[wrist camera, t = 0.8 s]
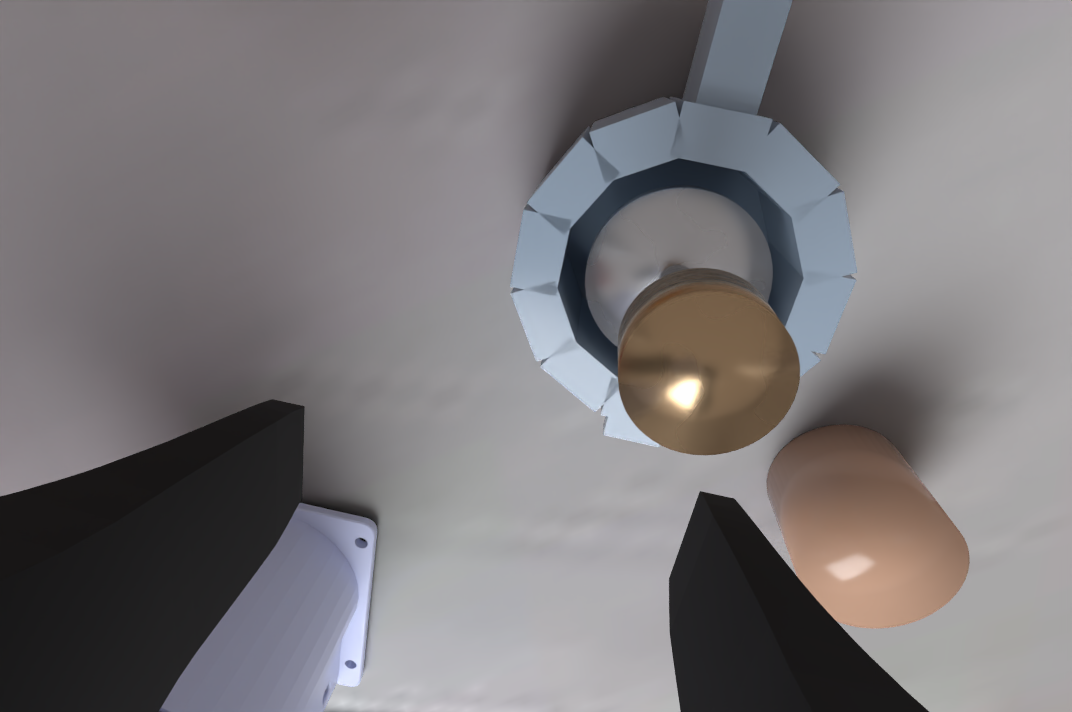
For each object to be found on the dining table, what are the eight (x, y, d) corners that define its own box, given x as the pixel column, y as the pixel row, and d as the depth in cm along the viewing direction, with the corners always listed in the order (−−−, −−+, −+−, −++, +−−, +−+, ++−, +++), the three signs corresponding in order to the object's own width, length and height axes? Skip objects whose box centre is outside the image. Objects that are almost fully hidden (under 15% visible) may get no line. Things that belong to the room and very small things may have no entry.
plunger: (735, 374, 17) (793, 515, 12) (569, 338, 17) (548, 461, 12) (794, 206, 15) (899, 280, 10) (607, 167, 15) (605, 218, 10)
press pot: (746, 402, 21) (775, 472, 18) (510, 350, 22) (488, 409, 18) (884, 34, 17) (964, 21, 13) (580, -27, 17) (570, -58, 13)
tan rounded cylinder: (872, 545, 23) (926, 642, 19) (748, 517, 23) (776, 608, 19) (927, 440, 21) (1000, 524, 17) (792, 411, 21) (833, 488, 17)
